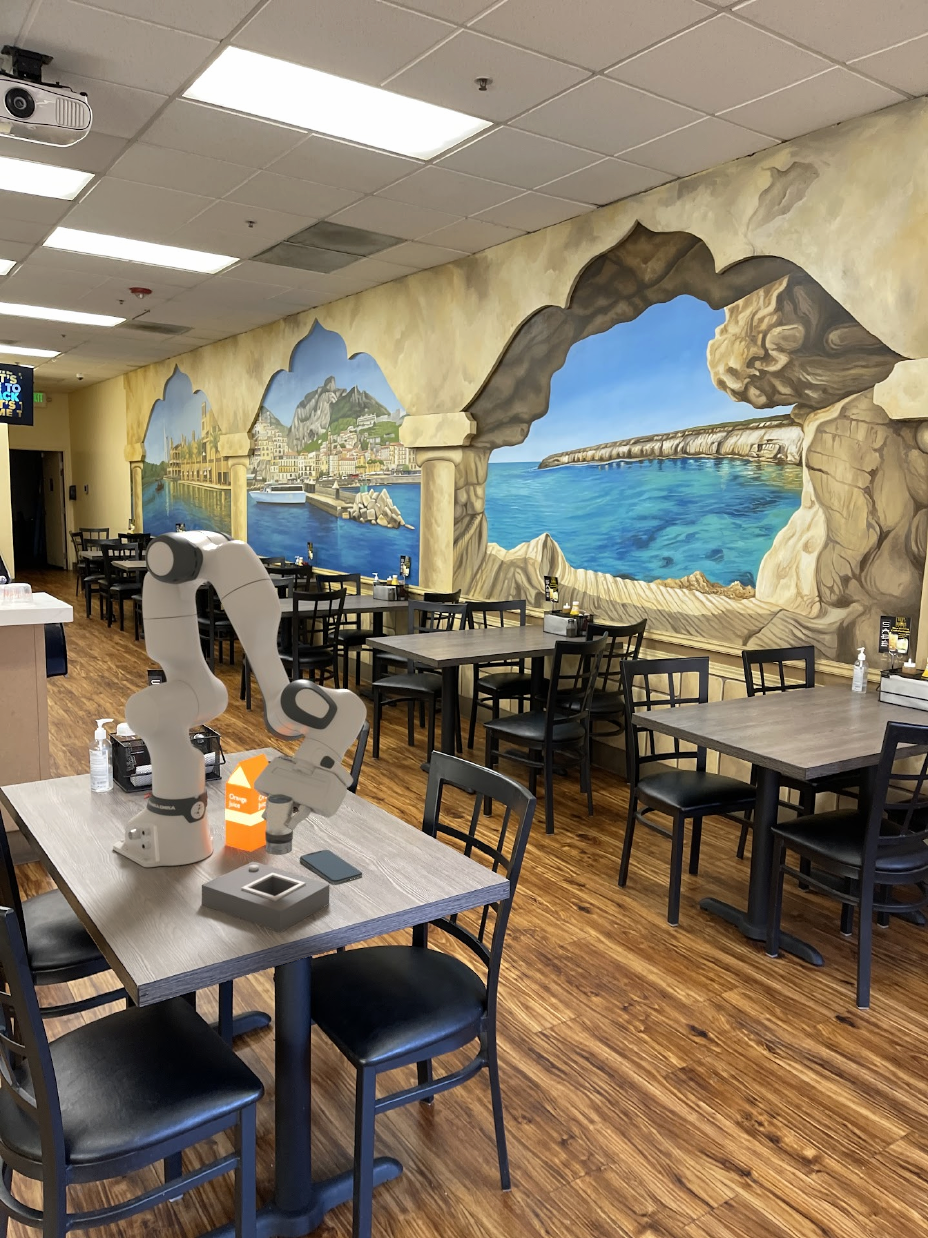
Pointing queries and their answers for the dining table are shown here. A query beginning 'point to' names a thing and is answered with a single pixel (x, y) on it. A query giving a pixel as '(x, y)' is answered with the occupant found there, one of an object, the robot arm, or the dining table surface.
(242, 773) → the orange juice
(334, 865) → the smartphone
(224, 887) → the grey socket base
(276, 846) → the lens
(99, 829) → the dining table surface
